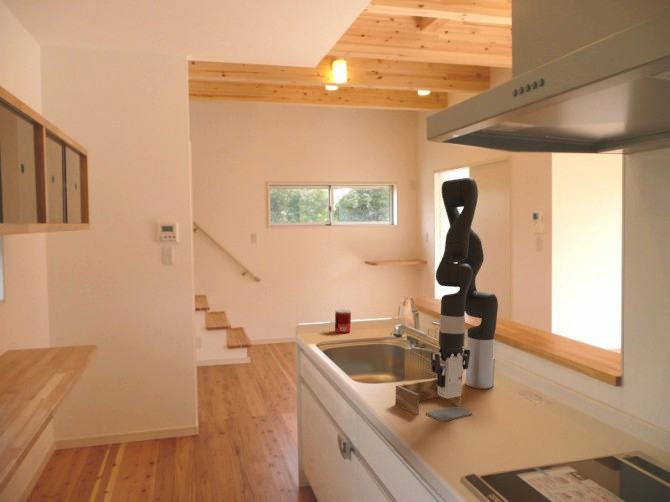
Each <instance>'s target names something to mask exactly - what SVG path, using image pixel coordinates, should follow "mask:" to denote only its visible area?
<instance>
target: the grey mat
mask: <svg viewBox="0 0 670 502" xmlns="http://www.w3.org/2000/svg"><path fill="white" fill-rule="evenodd" d="M425 415H427V416H428V417H431V418H433V419H435V420H437V421H438V422H439V421H440V422H441V423H443V422H448V421H451V420H452V421H453V420H456V419H460V418H464V417H469V416H472V415H473V413H472V412H470V411H468V410H465V409H464V408H462V407H459V406H457V405H453V406H449V407H445V408H440V409H436V410H435V409H434V410H432V411H427V412H425Z"/></svg>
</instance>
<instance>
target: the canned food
mask: <svg viewBox="0 0 670 502" xmlns="http://www.w3.org/2000/svg"><path fill="white" fill-rule="evenodd" d="M351 311H352V310H350V309H336V310H335V312H334V313H335V314H334V316H335V317H334V318H335V319H334V331H335V333H337V334H340V335H341V334H342V335H345V334H350V333H351V323H352V321H351V319H352V312H351Z"/></svg>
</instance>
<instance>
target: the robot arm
mask: <svg viewBox="0 0 670 502" xmlns="http://www.w3.org/2000/svg"><path fill="white" fill-rule="evenodd" d="M441 196H442V197H441V198H442V201H443V205H444V209H445V212H446V216H447V219H448V223H449V228H448V230H447V232H446V234H445V243H444V251H443V255H442V257H441V260H440V261H439V264H438V266H437V269H436V272H435V279H436V282H437V284H438V285H440V286H442V287H447V288H448V287H451V288H452V287H453V288H459V289H458V291H457V292H455V293H449V294H445V295H442V297H441V299H440V300H441V301H440V315H439V316H440V317H439V323H438V325H439V326H438V327H439V328H438V345H439V350H438V351H437V352H431V353H430V360H431V361H430V362H431V363H430V364H431V372H432V373H435V374H437V375H436V376H437V377H436V378H437V384H438V386H439V387H442V388H443V387H445V372H446V368H447V367H448V362H446V364H442V363H441V359H442V360H443V361H446V359H447V358H451V359H453V357H454V356H456V357H458V359H459V358H460V357H461V356H462V373H463V372H464V371H465V377H464V378H465V382H464V383H465V385H466V386H468V387H470V388H474V389H481V390H482V389H490V388H492V387H493V386H494V385H495V368H496V367H495V366H496V359H495V358H494V351H495V350H494V348H495V347H494V345H495V343H494V342H495V334H496V330H497V321H498V320H497V317H498V310H499V302H498V297H497V296H496V295H495V294H494V293H493V292H492V293H490V292H484V291H478V290H477V287H476V277H477V276H478V273H479V272H480V270H481V268H482V265H483V263H484V256H485V255H484V249H483V244H482V241H481V238H480V237H479V234H477V232H475V231H474V230H473V229H472V225H473V221H474V216H475V211H476V208H477V203H478V200H479V197H478V196H479V189H478V185H477V182H476V180H475V179H474V178H473V177H463V178H456V179H449V180H448V179H447V180H445V181H443V182H442V184H441ZM461 207H463V208H462V210H461V212H459V209H458V208H461ZM465 315H467V316H469V317H472V318H475V319H477V318H478V319H481V321H480V324H478V325H476V326H471V327H468V328H467V330H466V316H465ZM466 331H467V334H466V333H465V332H466ZM465 334H466V335H467V336H466V335H465ZM465 337H466V348H464V346H465ZM440 357H441V358H440ZM441 367H443V369H442V371H441Z"/></svg>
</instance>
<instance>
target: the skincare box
mask: <svg viewBox="0 0 670 502" xmlns="http://www.w3.org/2000/svg"><path fill="white" fill-rule="evenodd" d="M440 358H441V357H440ZM446 362H448V367H447V368H446V372H445V387H443V388H442V387H439V386H438V395H439V396H441V397H444V398H452V397H458V396H460V397H461V396H462V382H463V372H462V356H461V357H460V358H459V359H458V357H456V356H454V357H453V359H451V358H447V359H446V361H443V360H442V359H441V363H442V364H446ZM442 369H443V367H441V371H442Z"/></svg>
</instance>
